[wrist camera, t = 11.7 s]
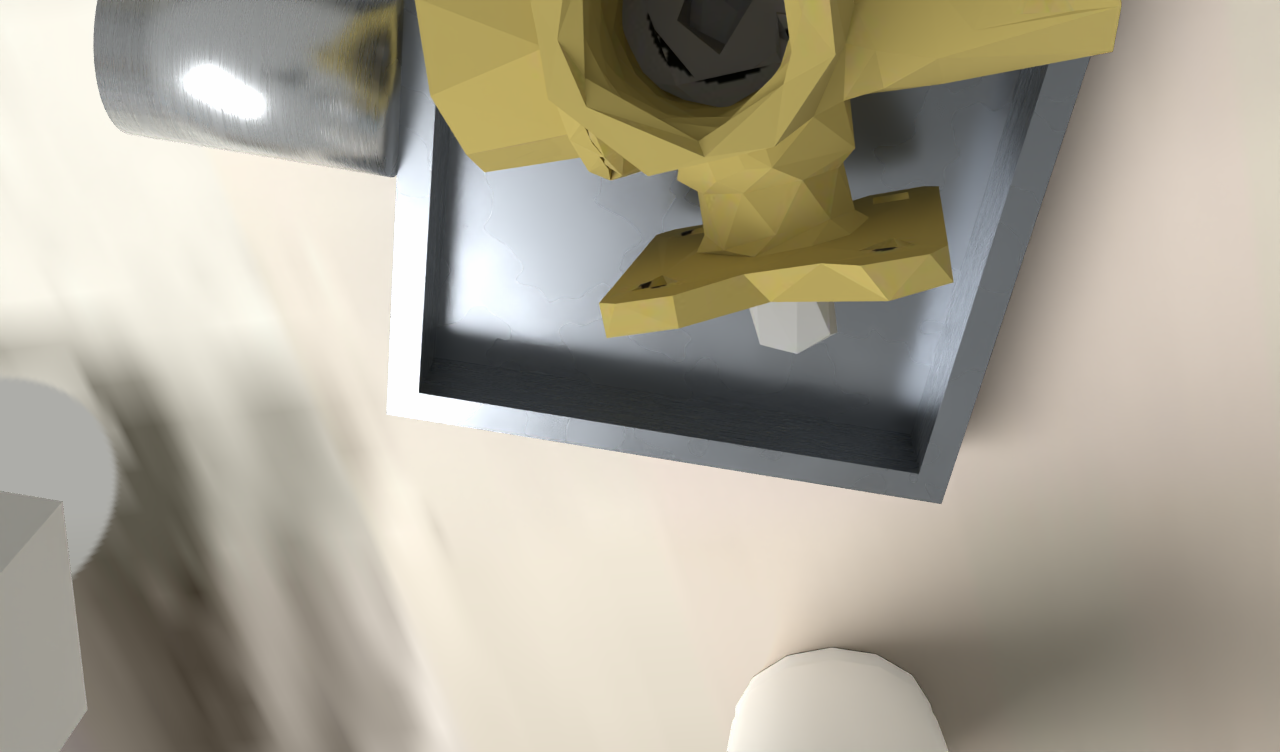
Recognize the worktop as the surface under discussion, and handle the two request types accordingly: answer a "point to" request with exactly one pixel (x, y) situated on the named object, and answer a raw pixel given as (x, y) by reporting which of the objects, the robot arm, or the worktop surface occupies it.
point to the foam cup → (834, 707)
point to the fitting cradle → (611, 247)
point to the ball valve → (737, 131)
